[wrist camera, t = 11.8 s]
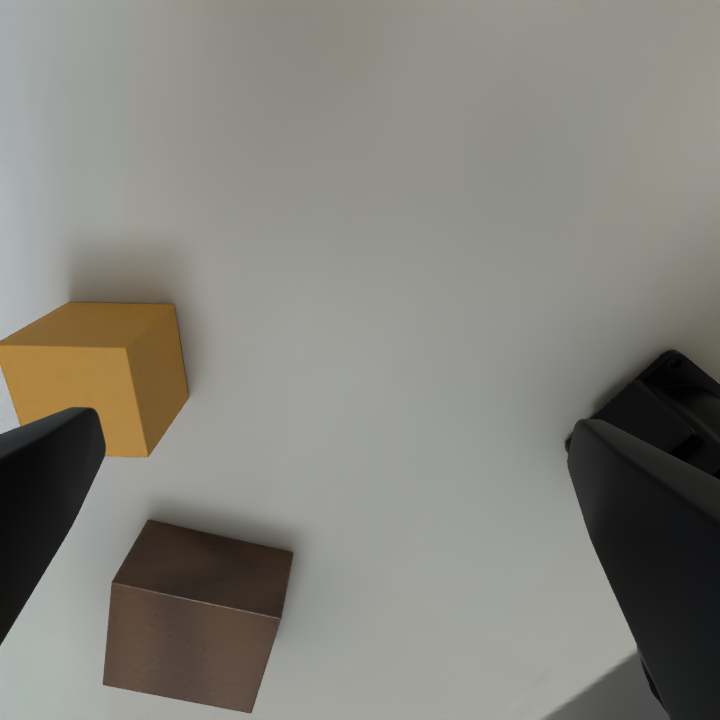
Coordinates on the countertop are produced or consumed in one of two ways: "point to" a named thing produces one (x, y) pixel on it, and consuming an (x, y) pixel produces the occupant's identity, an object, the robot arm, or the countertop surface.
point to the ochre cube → (101, 370)
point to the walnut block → (195, 616)
